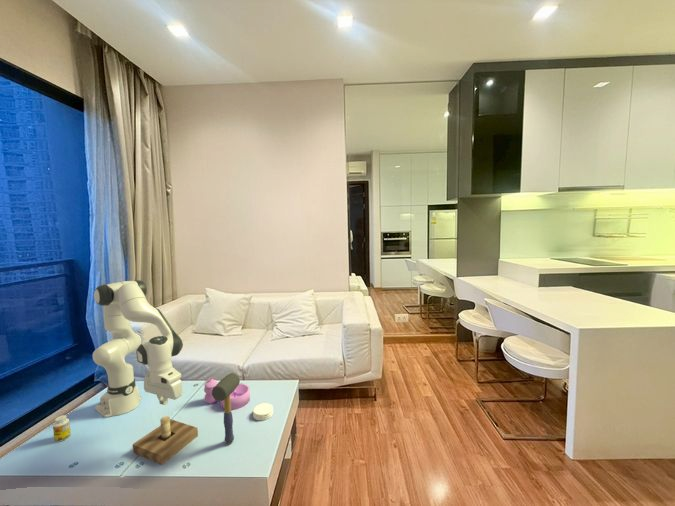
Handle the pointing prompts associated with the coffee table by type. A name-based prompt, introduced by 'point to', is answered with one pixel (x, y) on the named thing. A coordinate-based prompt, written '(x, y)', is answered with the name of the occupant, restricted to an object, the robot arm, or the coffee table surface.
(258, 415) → the cream round disc
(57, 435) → the supplement bottle
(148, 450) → the walnut board
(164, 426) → the maple dowel
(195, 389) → the coffee table surface
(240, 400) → the container set
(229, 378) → the rubber mallet
